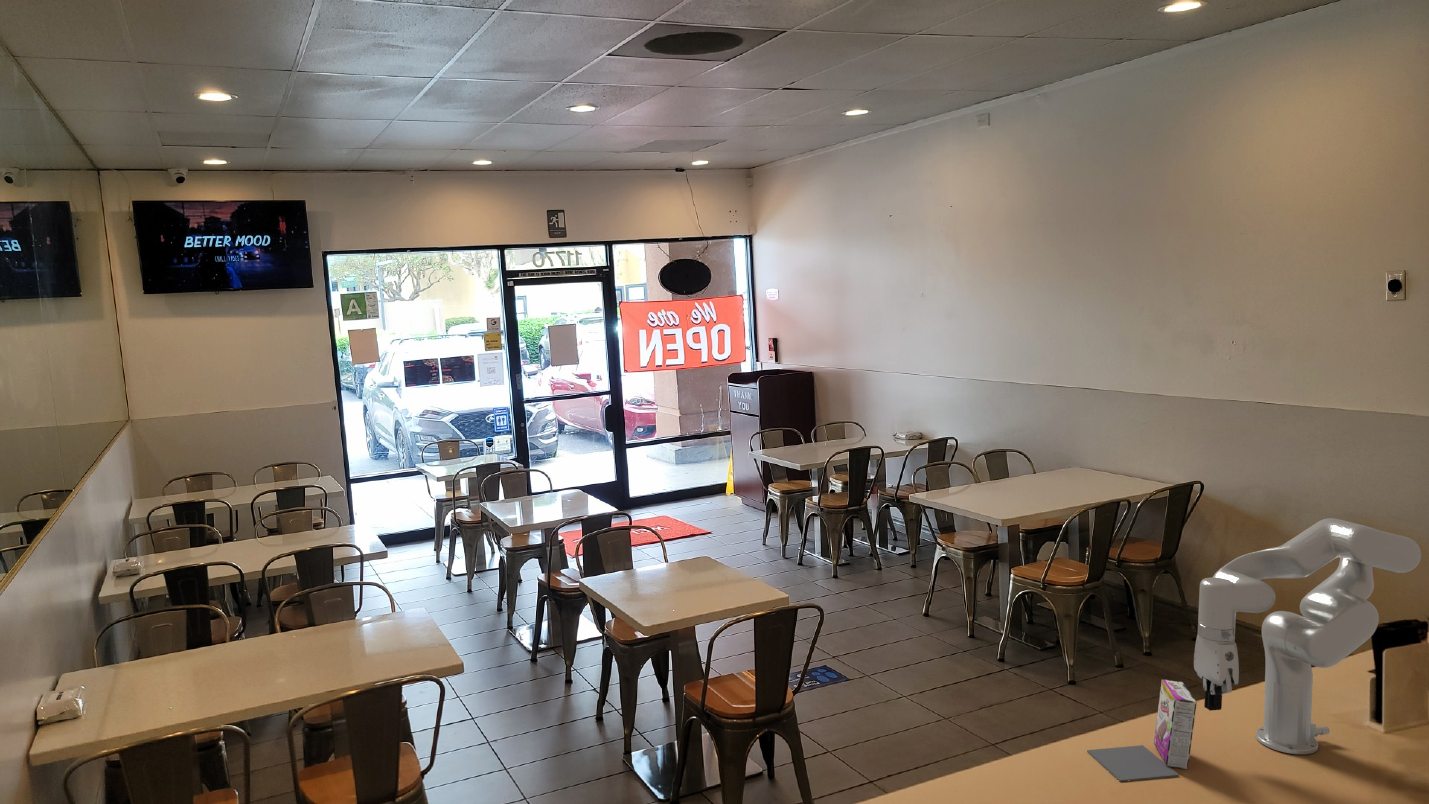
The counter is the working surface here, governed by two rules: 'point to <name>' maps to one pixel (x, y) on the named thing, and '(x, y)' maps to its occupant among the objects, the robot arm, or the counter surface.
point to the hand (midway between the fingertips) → (1212, 708)
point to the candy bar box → (1175, 724)
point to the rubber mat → (1132, 763)
